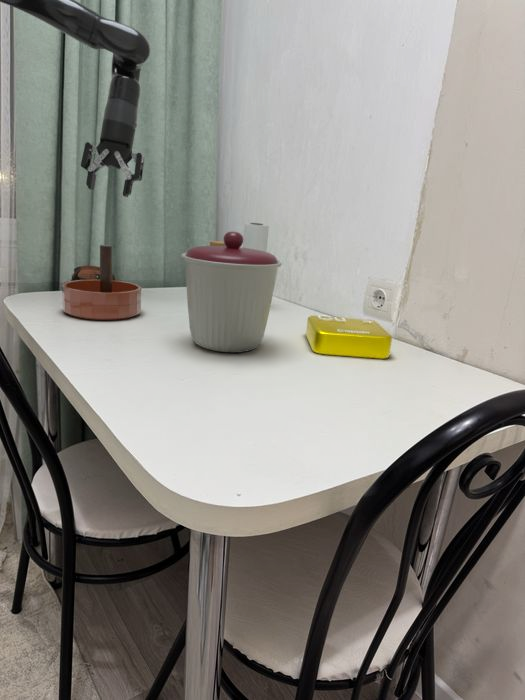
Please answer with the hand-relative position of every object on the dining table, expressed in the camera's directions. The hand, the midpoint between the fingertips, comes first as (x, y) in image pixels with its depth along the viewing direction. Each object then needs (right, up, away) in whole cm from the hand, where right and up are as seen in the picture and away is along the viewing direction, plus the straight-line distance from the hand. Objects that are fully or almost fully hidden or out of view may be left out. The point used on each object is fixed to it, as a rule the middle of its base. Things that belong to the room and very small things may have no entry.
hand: (108, 192), depth 121 cm
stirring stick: (+2, -28, -8) cm, 30 cm away
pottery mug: (-7, -23, +10) cm, 26 cm away
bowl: (+2, -29, -9) cm, 31 cm away
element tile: (+54, -37, -19) cm, 68 cm away
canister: (+30, -37, -26) cm, 54 cm away
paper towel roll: (+34, -27, +12) cm, 45 cm away
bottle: (+23, -22, +23) cm, 40 cm away
